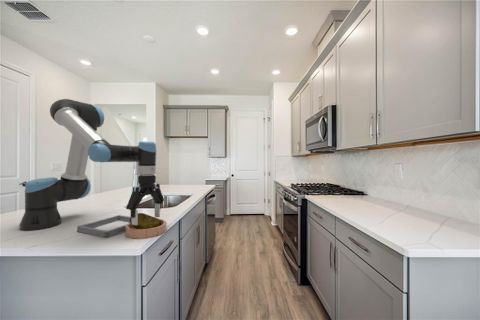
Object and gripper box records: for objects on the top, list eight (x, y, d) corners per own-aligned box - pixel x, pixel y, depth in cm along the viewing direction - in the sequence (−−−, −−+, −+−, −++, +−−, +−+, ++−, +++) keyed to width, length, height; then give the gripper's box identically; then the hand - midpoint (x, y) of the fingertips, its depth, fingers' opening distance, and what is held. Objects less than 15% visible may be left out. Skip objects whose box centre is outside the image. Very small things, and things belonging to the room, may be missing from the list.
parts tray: (77, 231, 97) (77, 226, 97) (119, 219, 117) (119, 215, 117) (106, 238, 90) (106, 232, 90) (145, 223, 110) (145, 219, 110)
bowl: (116, 235, 93) (116, 226, 93) (146, 224, 109) (146, 217, 109) (146, 240, 87) (146, 232, 87) (173, 228, 103) (173, 221, 103)
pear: (154, 234, 93) (153, 216, 92) (127, 233, 94) (126, 216, 94) (163, 226, 101) (162, 210, 101) (138, 226, 103) (137, 210, 102)
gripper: (130, 177, 85) (129, 229, 85) (171, 173, 108) (171, 214, 108) (117, 176, 88) (116, 227, 88) (160, 173, 111) (159, 213, 111)
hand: (146, 220), depth 98 cm, fingers open, 13 cm apart
